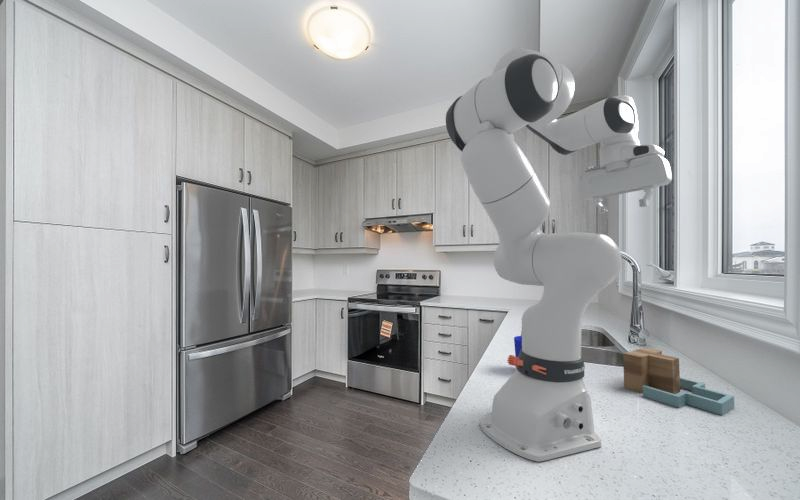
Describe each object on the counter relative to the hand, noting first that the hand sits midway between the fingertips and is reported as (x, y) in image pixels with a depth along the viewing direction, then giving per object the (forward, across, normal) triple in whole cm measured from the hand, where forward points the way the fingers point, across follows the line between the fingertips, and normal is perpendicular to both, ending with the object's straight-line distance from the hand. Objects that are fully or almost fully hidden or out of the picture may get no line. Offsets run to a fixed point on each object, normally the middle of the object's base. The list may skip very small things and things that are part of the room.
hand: (622, 209), depth 80 cm
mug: (+47, -22, -8) cm, 52 cm away
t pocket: (+47, +8, +9) cm, 49 cm away
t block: (+47, +1, +9) cm, 48 cm away
